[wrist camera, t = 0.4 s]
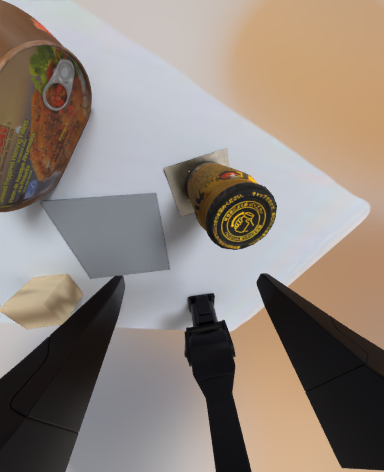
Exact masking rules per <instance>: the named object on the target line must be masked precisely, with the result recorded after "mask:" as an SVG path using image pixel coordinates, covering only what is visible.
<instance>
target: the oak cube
mask: <svg viewBox="0 0 384 472" xmlns="http://www.w3.org/2000/svg"><path fill="white" fill-rule="evenodd" d="M82 295H83V292H82V291H81V290H80V288H79V287H78V286H77V285H76V283H75V282H74V281H73V279H72V278H71V277H70V276H69V274H61V275H52V276H43V277H35V278H32V279H31V280H30V281H29V282H28V283H27V284H25V285H24V286H23V287H22V288H21V289H20V290H19V291H18V292H17V293H16V294H15V295H14V296H12V297H11V298H10V299H9V300H8V301H7V302H6V303H5V304H4V305H3V306H2V307H1V308H0V312H1V313H3V314H4V315H6V316H7V317H9V318H10V319H12V320H13V321H15V322H17V323H18V324H20V325H21V326H23V327H24V328H26V329H32V328H39V327H46V326H53V325H60V324H63V323H64V322H65V321H66V320H67V319H68V318H69V316H70V314H71V313H72V311H73V310H74V308H75V306H76V305H77V303H78V301H79V300H80V298H81V297H82Z"/></svg>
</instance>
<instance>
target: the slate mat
mask: <svg viewBox="0 0 384 472" xmlns="http://www.w3.org/2000/svg"><path fill="white" fill-rule="evenodd" d="M40 204H41V205H42V207H43V208H44V210H45V211H46V213H47V214H48V216H49V217H50V219H51V220H52V222H53V223H54V225H55V226H56V228H57V229H58V231H59V232H60V234H61V235H62V237H63V238H64V240H65V241H66V243H67V244H68V246H69V247H70V249H71V250H72V252H73V253H74V255H75V256H76V258H77V259H78V261H79V262H80V264H81V265H82V267H83V268H84V270H85V271H86V273H87V274H88V276H89V277H90V279H92V278H101V277H109V276H118V275H126V274H135V273H143V272H152V271H160V270H169V269H170V268H169V262H168V257H167V251H166V245H165V240H164V234H163V229H162V223H161V218H160V212H159V206H158V201H157V195H156V193H148V194H134V195H119V196H105V197H91V198H77V199H63V200H48V201H40Z"/></svg>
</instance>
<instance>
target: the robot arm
mask: <svg viewBox="0 0 384 472" xmlns="http://www.w3.org/2000/svg"><path fill="white" fill-rule="evenodd" d="M257 287H258V289H259V292H260V295H261V297H262V300H263V303H264V305H265V308H266V310H267V312H268V314H269V316H270V318H271V320H272V322H273V325H274V327H275V329H276V331H277V333H278V335H279V337H280V340H281V342H282V344H283V346H284V348H285V350H286V352H287V354H288V356H289V358H290V361H291V363H292V365H293V367H294V369H295V371H296V373H297V375H298V377H299V379H300V382H301V384H302V386H303V388H304V390H305V391H306V395H307V397H308V399H309V400H310V403H311V405H312V407H313V409H314V411H315V413H316V416H317V418H318V420H319V422H320V424H321V426H322V428H323V430H324V433H325V435H326V437H327V439H328V441H329V443H330V445H331V447H332V449H333V452H334V454H335V456H336V458H337V460H338V462H339V464H340V465H341V467H342V468H350V469H367V470H384V350H383V349H381V348H379V347H378V346H376V345H375V344H373V343H371V342H370V341H368V340H367V339H365V338H363V337H361V336H360V335H359V334H357V333H355V332H354V331H352V330H351V329H349V328H348V327H346V326H345V325H343V324H341V323H340V322H338V321H337V320H335V319H334V318H332V317H331V316H329V315H328V314H327V313H325V312H323V311H322V310H321V309H319V308H318V307H316V306H314V305H313V304H312V303H310V302H309V301H307V300H306V299H304V298H303V297H301V296H300V295H298V294H297V293H295V292H294V291H292V290H291V289H290V288H288V287H287V286H285V285H284V284H282V283H281V282H279V281H278V280H276V279H275V278H273V277H272V276H270V275H269V274H266V273H264V274H260V276H259V278H258V280H257ZM124 290H125V282H124V277H123V276H114V277H113V278H112V279H111V280H110V281H109V282H108V283H107V284H106V285H104V286H103V287H102V288H101V289H100V290H99V291H98V292H97V293H96V294H95V295H93V296H92V297H91V298H90V299H89V300H88V301H87V302H86V303H85V304H84V305H83V306H81V307H80V308H79V309H78V310H77V311H76V312H75V313H74V314H73V315H72V316H71V317H69V318H68V319H67V320H66V321H65V322H64V323H63V324H62V325H61V326H60V327H59V328H58V329H56V330H55V331H54V332H53V333H52V334H51V335H50V337H48V338H46V339H45V340H44V341H43V342H42V343H41V344H40V345H39V346H38V347H37V348H35V349H34V350H33V351H32V352H31V353H30V354H29V355H28V356H26V357H25V358H24V359H23V360H22V361H21V362H20V363H18V364H17V365H16V366H15V367H14V368H12V369H11V370H10V371H9V372H8V373H7V374H5V375H4V376H3V377H2V378H1V379H0V472H65V471H66V468H67V465H68V462H69V460H70V456H71V454H72V451H73V448H74V445H75V442H76V439H77V436H78V432H79V430H80V427H81V424H82V421H83V418H84V415H85V412H86V410H87V407H88V403H89V401H90V398H91V395H92V392H93V389H94V386H95V383H96V380H97V377H98V375H99V372H100V368H101V366H102V362H103V360H104V357H105V354H106V351H107V348H108V345H109V343H110V340H111V337H112V334H113V331H114V328H115V325H116V322H117V319H118V316H119V312H120V308H121V304H122V299H123V295H124ZM214 298H215V295H214V294H206V295H198V296H191V297H189V298H188V299H189V311H190V312H191V313H192V321H193V327H190V328H189V327H188V328H186V332H185V357H186V358H187V360H188V362H189V366H192V371H193V375H194V378H195V379H196V381H197V383H198V385H199V387H200V388H201V390H202V392H203V394H204V396H205V398H206V402H207V409H208V417H209V424H210V432H211V439H212V446H213V453H214V461H215V468H216V472H251V468H250V463H249V459H248V455H247V451H246V448H245V443H244V439H243V435H242V431H241V427H240V423H239V419H238V415H237V411H236V407H235V402H234V399H233V394H232V390H233V381H234V374H235V362H234V359H233V357H235V351H234V346H233V343H232V340H231V337H230V334H229V331H228V328H227V325H226V323H225V320H222V321H219V322H218V320H217V317H216V313H215V309H214Z"/></svg>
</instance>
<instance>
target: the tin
mask: <svg viewBox="0 0 384 472" xmlns="http://www.w3.org/2000/svg"><path fill="white" fill-rule="evenodd" d="M91 101H92V93H91V86H90V82H89V78H88V75H87V73H86V71H85V69H84V67H83V65H82V64H81V62H80V61H79V60H78V59H77V57H76V56H75V55H74V54H73V53H71V52H70V51H69V50H67V49H66V48H64V47H63V46H62V44H61V43H60V42H59V41H58V40H57V39H56V38H55V37H54V36H53V35H52V34H51V33H50V32H49V31H48V30H47V29H46V28H45V27H44V26H43V25H41V24H40V23H39V22H38V21H37V20H36V19H34V18H33V17H32V16H30V15H29V14H27V13H26V12H24V11H23V10H21V9H19V8H18V7H16V6H14V5H12V4H10V3H7V2H5V1H2V0H0V212H9V211H14V210H18V209H21V208H23V207H26V206H28V205H30V204H32V203H34V202H36V201H37V200H39V199H40V198H42V197H43V196H45V195H46V194H47V193H48V192H50V191H51V190H52V189H53V188H54V187H55V185H56V184H57V183H58V182H59V180H60V178H61V177H62V175H63V173H64V170H65V168H66V166H67V164H68V162H69V160H70V157H71V155H72V153H73V151H74V148H75V146H76V144H77V142H78V140H79V138H80V135H81V133H82V131H83V129H84V127H85V125H86V122H87V120H88V117H89V114H90V109H91Z"/></svg>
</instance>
